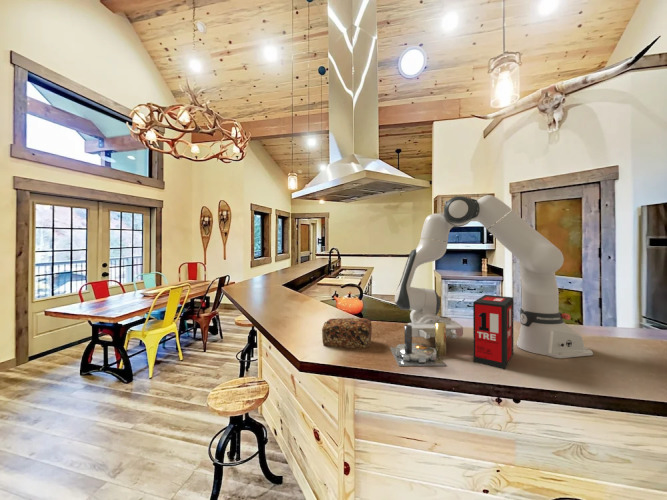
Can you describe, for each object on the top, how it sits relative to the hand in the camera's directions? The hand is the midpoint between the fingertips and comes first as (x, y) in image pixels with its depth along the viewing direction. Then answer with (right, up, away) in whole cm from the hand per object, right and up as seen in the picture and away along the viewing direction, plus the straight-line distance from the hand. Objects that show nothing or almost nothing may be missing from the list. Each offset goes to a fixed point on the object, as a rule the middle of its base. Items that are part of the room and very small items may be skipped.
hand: (441, 336), depth 99 cm
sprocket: (-9, -7, -2) cm, 12 cm away
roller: (0, -6, +1) cm, 7 cm away
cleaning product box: (+17, -7, -3) cm, 19 cm away
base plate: (-9, -7, -2) cm, 12 cm away
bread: (-33, -7, +13) cm, 36 cm away
